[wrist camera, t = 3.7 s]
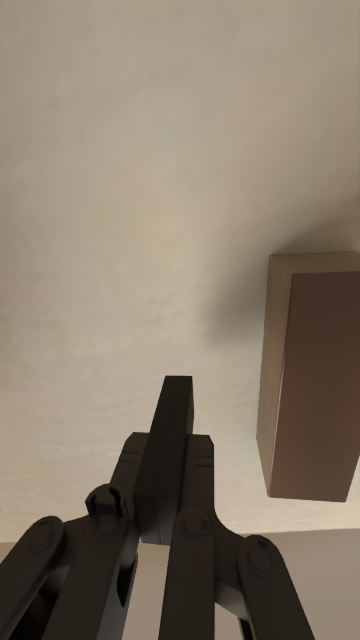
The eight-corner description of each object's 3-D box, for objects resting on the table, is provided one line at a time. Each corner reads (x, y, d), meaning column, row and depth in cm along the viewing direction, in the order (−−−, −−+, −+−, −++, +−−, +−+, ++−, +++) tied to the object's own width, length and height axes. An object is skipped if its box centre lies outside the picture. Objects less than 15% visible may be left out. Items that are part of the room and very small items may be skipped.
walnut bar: (256, 438, 20) (267, 497, 16) (269, 254, 14) (292, 273, 10) (317, 440, 19) (346, 503, 15) (355, 251, 14) (416, 269, 10)
